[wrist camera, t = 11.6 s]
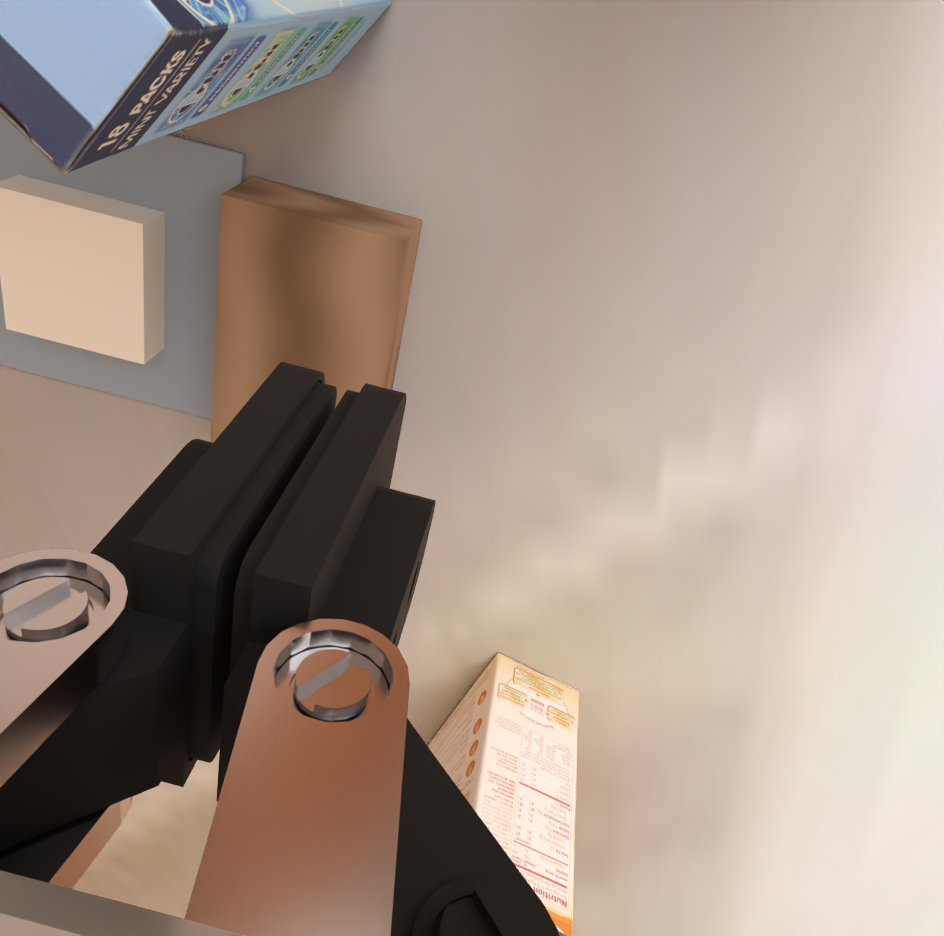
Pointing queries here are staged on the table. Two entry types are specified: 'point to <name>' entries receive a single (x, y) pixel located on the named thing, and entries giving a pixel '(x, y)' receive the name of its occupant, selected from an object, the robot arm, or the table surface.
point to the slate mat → (186, 267)
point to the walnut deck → (307, 290)
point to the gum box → (158, 64)
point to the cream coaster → (82, 269)
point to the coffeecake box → (520, 772)
